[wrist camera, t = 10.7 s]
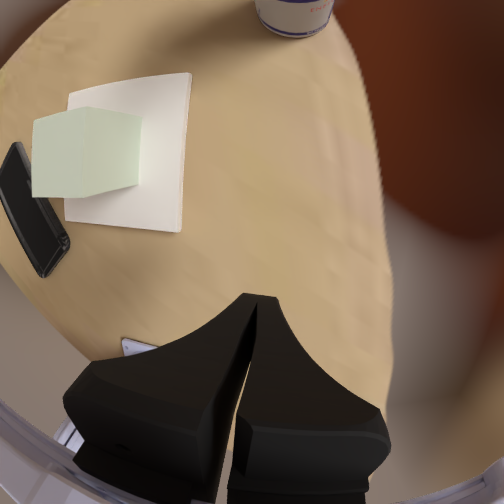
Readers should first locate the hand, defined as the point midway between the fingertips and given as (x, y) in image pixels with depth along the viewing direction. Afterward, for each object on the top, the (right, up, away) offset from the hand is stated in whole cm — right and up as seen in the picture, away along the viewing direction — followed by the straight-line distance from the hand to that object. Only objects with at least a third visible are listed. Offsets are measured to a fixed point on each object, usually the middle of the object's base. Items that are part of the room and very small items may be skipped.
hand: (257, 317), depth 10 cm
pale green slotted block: (-11, +10, +8) cm, 17 cm away
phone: (-25, +7, +12) cm, 29 cm away
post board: (-11, +11, +9) cm, 18 cm away
